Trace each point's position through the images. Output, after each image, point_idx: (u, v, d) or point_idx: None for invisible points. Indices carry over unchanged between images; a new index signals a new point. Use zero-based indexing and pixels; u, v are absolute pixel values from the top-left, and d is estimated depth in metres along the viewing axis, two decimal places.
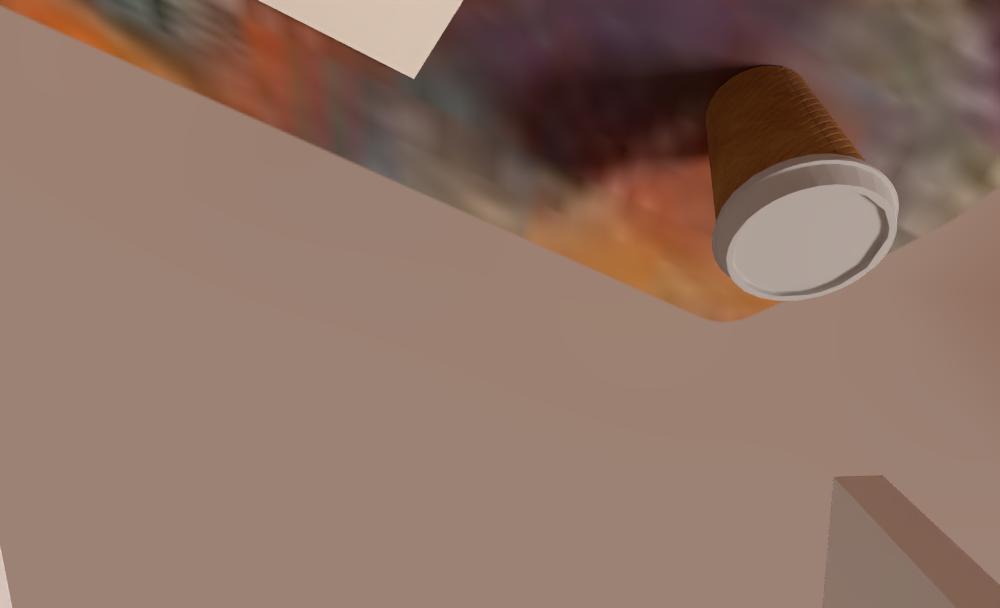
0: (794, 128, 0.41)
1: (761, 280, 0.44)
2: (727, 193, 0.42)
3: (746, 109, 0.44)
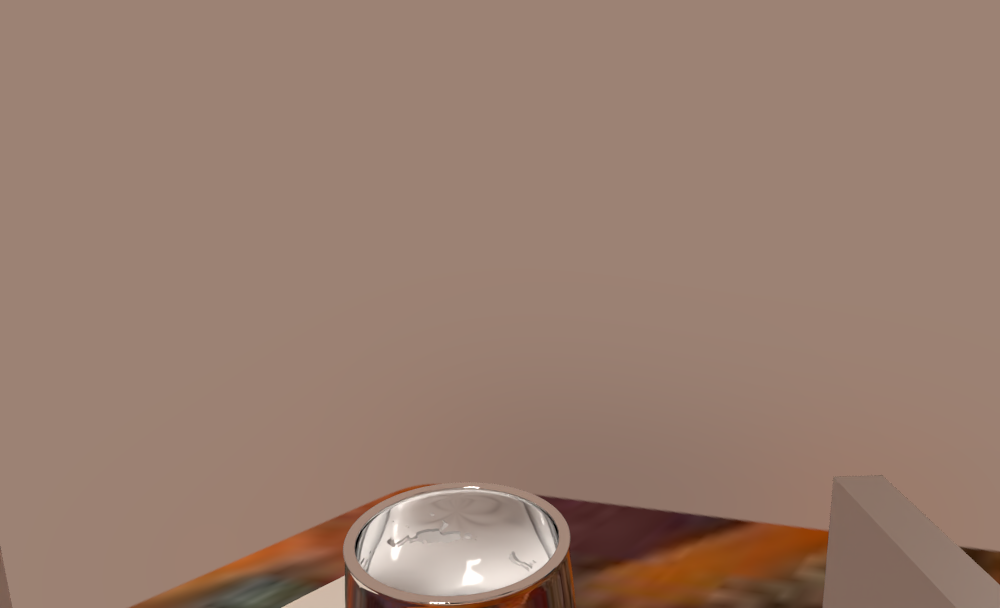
0: None
1: None
2: None
3: None
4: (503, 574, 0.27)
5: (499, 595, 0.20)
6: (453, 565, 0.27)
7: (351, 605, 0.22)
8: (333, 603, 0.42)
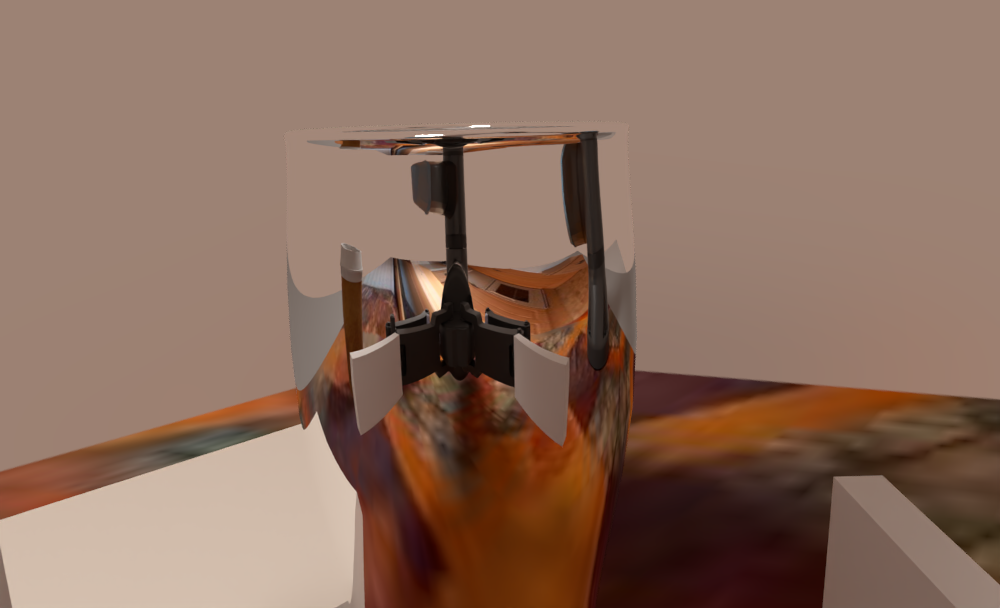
0: None
1: None
2: None
3: None
4: None
5: (523, 131, 0.12)
6: None
7: (292, 198, 0.14)
8: None
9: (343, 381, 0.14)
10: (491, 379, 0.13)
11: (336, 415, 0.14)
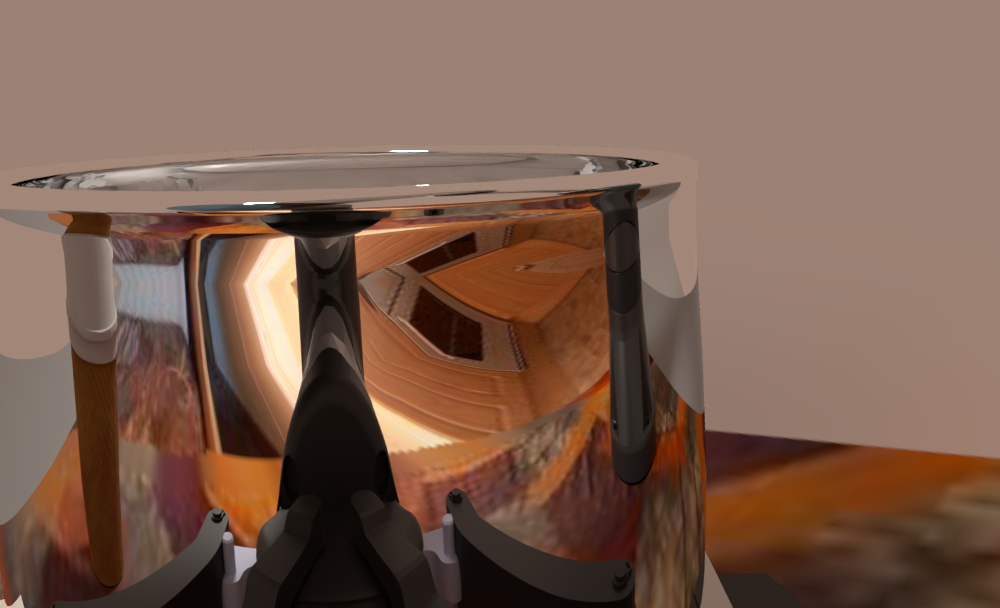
0: None
1: None
2: None
3: None
4: None
5: (463, 192, 0.05)
6: None
7: None
8: None
9: None
10: None
11: None
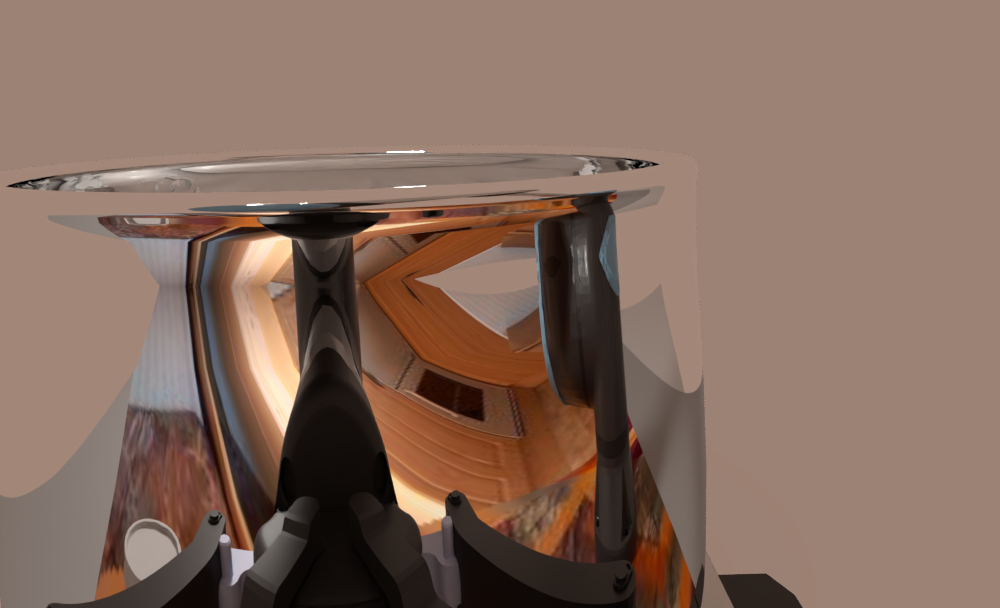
0: None
1: None
2: None
3: None
4: None
5: (462, 191, 0.05)
6: None
7: None
8: None
9: None
10: None
11: None
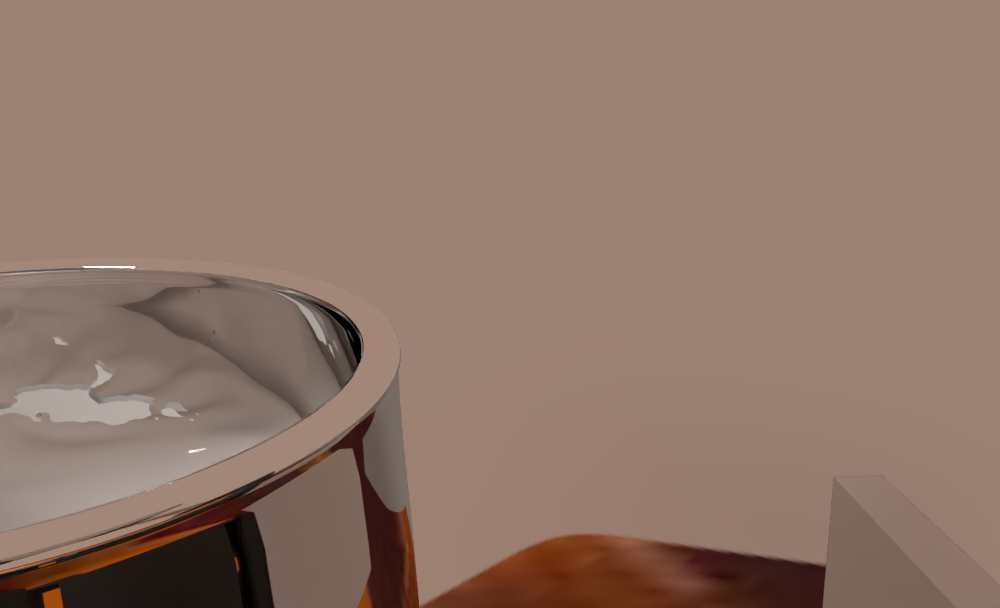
0: None
1: None
2: None
3: None
4: None
5: None
6: (137, 486, 0.10)
7: None
8: None
9: None
10: None
11: None
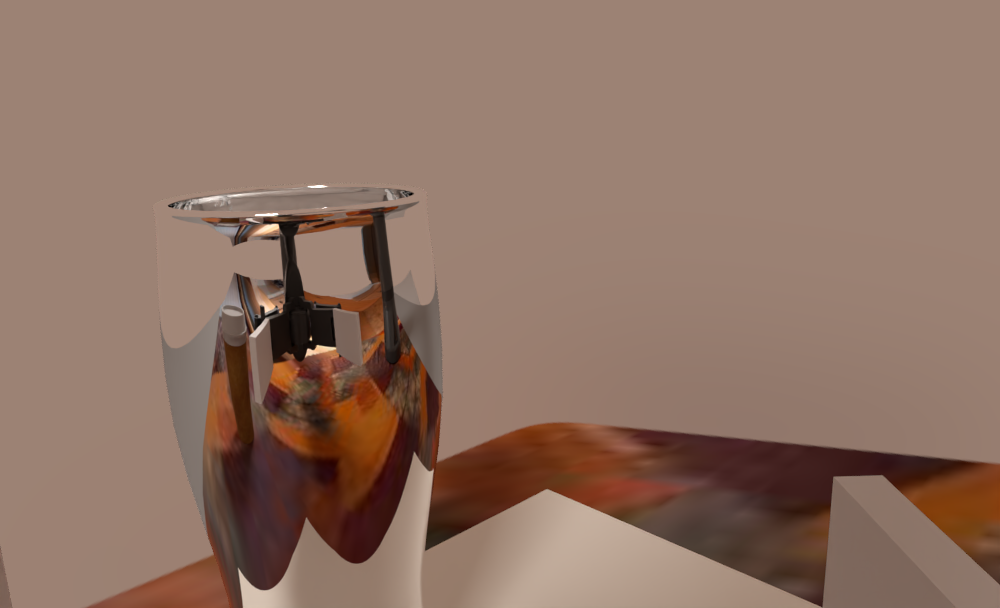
0: None
1: None
2: None
3: None
4: None
5: (322, 210, 0.17)
6: None
7: (159, 256, 0.18)
8: (489, 547, 0.31)
9: (197, 396, 0.18)
10: (305, 393, 0.17)
11: (194, 422, 0.18)
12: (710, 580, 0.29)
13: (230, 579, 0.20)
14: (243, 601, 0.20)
